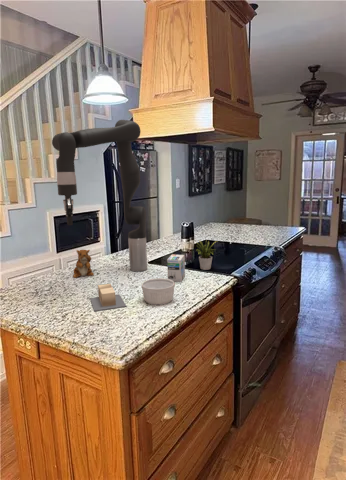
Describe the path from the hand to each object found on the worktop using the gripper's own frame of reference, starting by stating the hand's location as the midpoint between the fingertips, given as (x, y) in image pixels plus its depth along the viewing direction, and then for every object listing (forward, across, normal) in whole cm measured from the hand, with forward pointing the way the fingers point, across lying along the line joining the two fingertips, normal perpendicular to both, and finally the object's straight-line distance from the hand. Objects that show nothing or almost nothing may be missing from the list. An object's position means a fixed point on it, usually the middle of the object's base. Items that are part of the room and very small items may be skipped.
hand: (70, 225), depth 144 cm
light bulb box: (+29, -1, -47) cm, 55 cm away
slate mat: (+29, -20, -11) cm, 37 cm away
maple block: (+26, -12, -11) cm, 31 cm away
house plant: (+29, +10, -66) cm, 73 cm away
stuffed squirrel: (+29, +25, -6) cm, 39 cm away
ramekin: (+29, -24, -31) cm, 49 cm away
